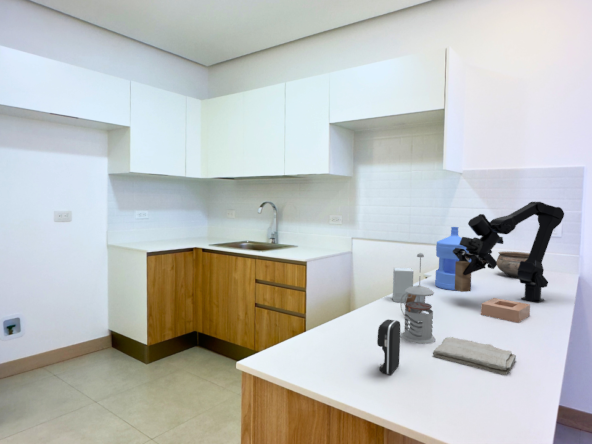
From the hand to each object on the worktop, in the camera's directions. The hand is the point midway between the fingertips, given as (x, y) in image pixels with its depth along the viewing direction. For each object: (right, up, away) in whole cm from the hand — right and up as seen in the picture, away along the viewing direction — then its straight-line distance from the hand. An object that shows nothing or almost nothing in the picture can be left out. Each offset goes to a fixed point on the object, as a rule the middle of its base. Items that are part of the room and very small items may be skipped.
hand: (460, 273), depth 147 cm
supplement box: (-20, -12, +7) cm, 24 cm away
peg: (+1, -7, +1) cm, 7 cm away
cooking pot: (+55, -10, +59) cm, 81 cm away
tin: (-20, -13, -10) cm, 26 cm away
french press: (-27, -14, -34) cm, 46 cm away
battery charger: (-41, -15, -55) cm, 71 cm away
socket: (+11, -13, -12) cm, 21 cm away
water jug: (+10, -11, +32) cm, 35 cm away
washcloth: (-17, -16, -49) cm, 54 cm away
